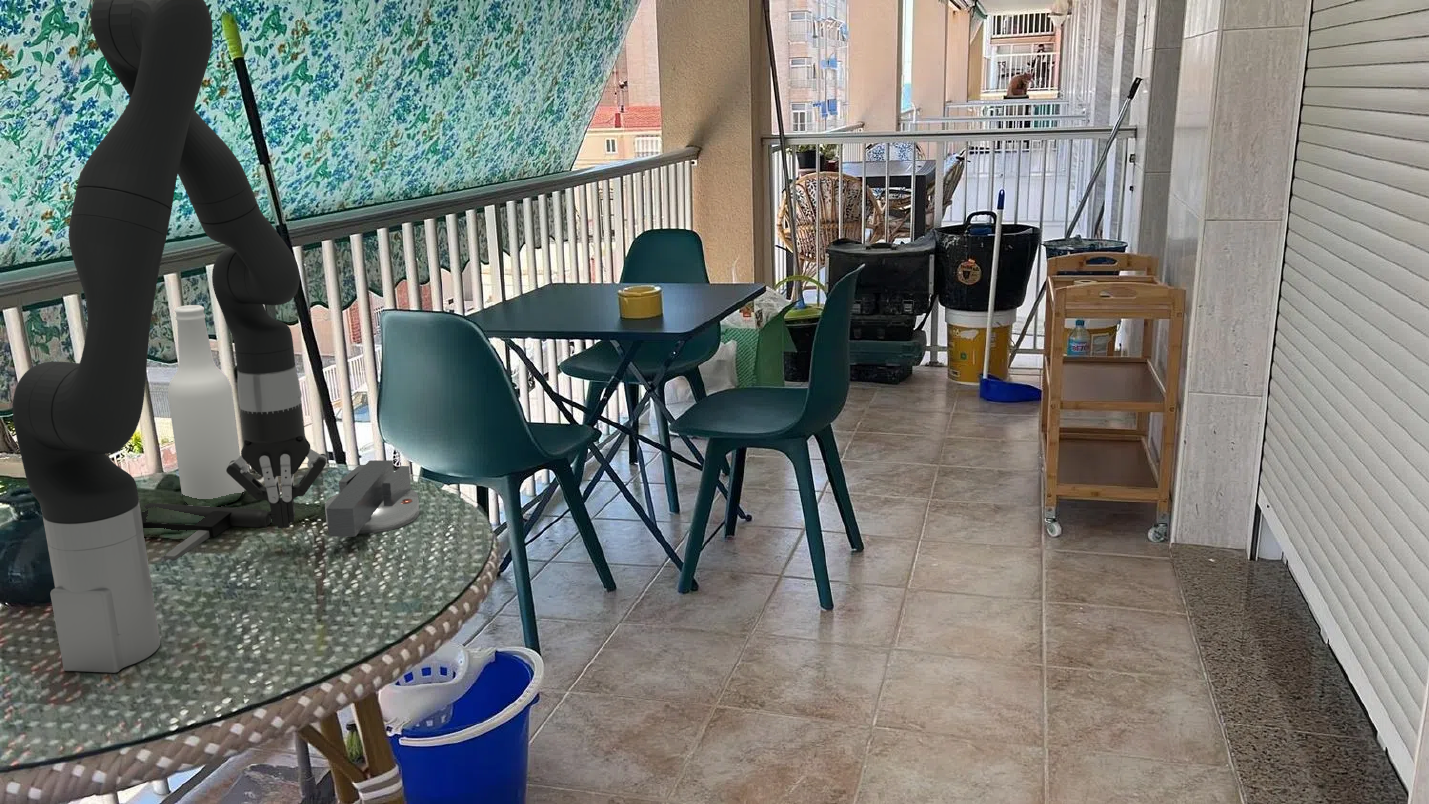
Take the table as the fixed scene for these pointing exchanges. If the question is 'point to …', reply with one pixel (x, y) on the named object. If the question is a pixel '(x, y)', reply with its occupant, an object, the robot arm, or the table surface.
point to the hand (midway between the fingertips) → (284, 525)
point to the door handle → (207, 523)
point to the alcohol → (202, 413)
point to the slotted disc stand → (388, 502)
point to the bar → (358, 499)
